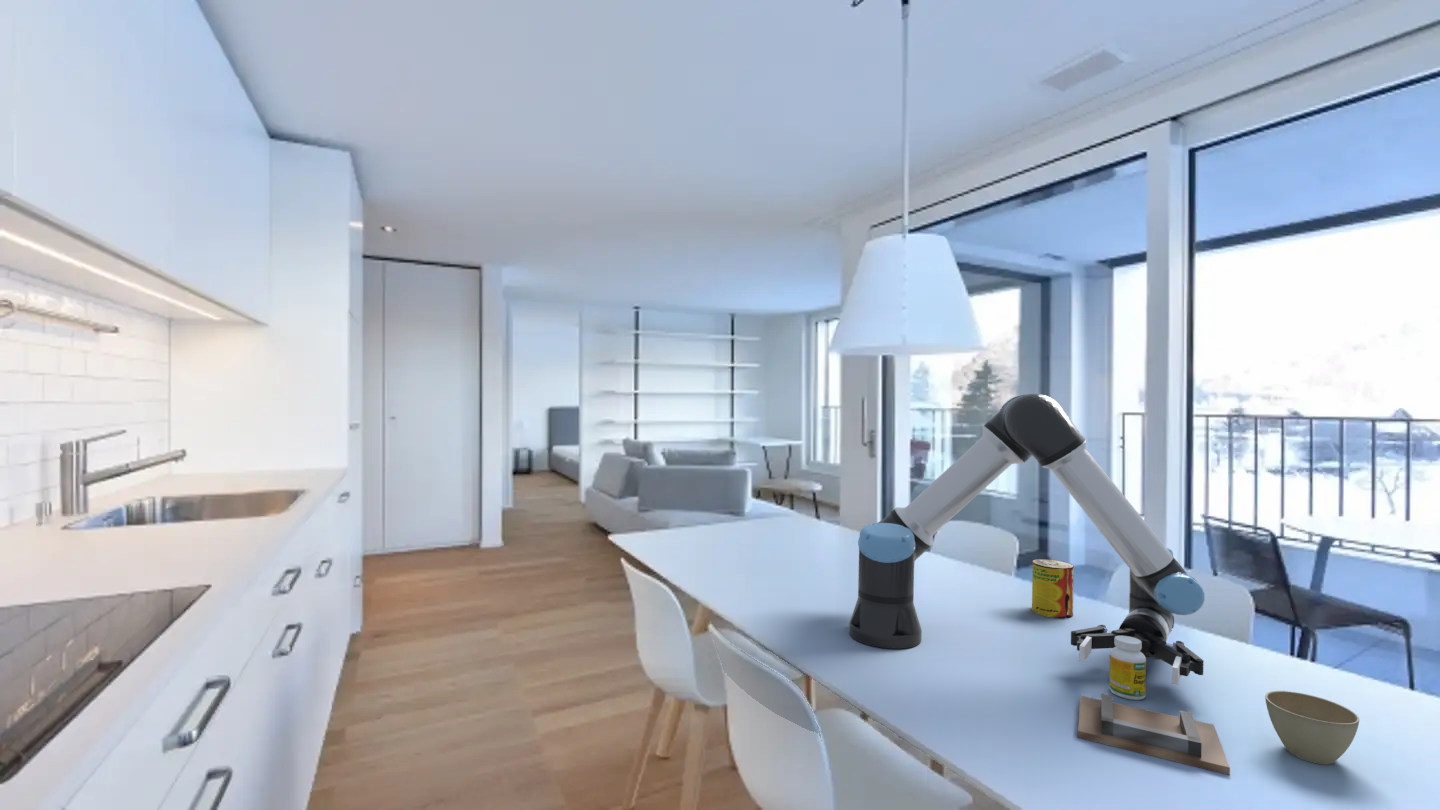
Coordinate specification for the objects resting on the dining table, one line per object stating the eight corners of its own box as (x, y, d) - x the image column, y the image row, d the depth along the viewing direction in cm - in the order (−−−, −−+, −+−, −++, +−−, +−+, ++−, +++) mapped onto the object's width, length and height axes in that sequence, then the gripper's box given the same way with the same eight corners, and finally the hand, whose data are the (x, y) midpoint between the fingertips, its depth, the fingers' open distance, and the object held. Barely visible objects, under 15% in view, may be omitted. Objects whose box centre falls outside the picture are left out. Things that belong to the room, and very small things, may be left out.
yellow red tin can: (1050, 619, 150) (1051, 568, 150) (1023, 607, 159) (1024, 559, 159) (1081, 617, 152) (1082, 567, 152) (1053, 605, 161) (1054, 558, 161)
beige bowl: (1246, 738, 96) (1247, 691, 96) (1306, 736, 97) (1307, 689, 97) (1313, 776, 86) (1314, 723, 86) (1379, 774, 87) (1380, 722, 87)
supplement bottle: (1118, 684, 114) (1119, 631, 114) (1151, 696, 110) (1152, 641, 110) (1103, 691, 111) (1104, 637, 111) (1136, 703, 107) (1137, 647, 107)
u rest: (1078, 737, 95) (1078, 717, 95) (1080, 701, 107) (1080, 683, 107) (1229, 774, 86) (1230, 752, 86) (1213, 730, 98) (1213, 711, 98)
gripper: (1224, 669, 117) (1218, 709, 101) (1072, 635, 133) (1046, 665, 117) (1224, 629, 117) (1219, 662, 101) (1073, 600, 133) (1047, 625, 117)
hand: (1126, 664), depth 109 cm, fingers open, 13 cm apart
